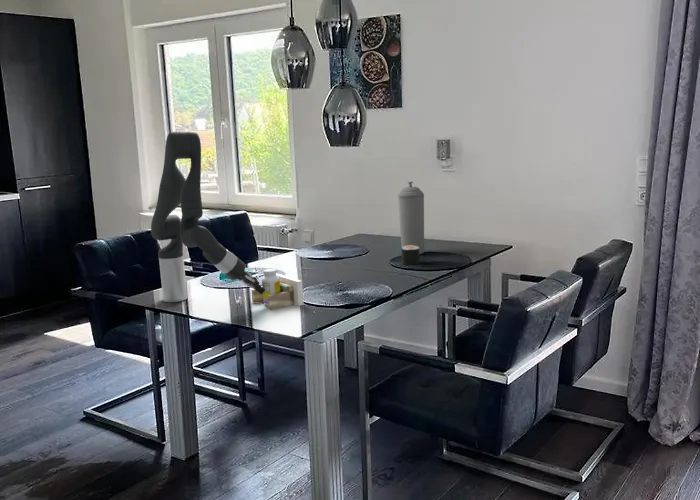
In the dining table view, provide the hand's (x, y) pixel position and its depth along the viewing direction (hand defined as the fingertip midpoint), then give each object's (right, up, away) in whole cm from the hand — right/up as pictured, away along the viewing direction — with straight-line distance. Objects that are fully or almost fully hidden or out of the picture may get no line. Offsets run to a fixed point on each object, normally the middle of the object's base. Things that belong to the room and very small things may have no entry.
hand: (262, 291), depth 249 cm
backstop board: (+8, -4, +7) cm, 12 cm away
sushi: (+60, +9, +61) cm, 86 cm away
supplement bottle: (+3, -5, +3) cm, 7 cm away
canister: (+63, +14, +82) cm, 104 cm away
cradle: (+3, -5, +4) cm, 7 cm away
